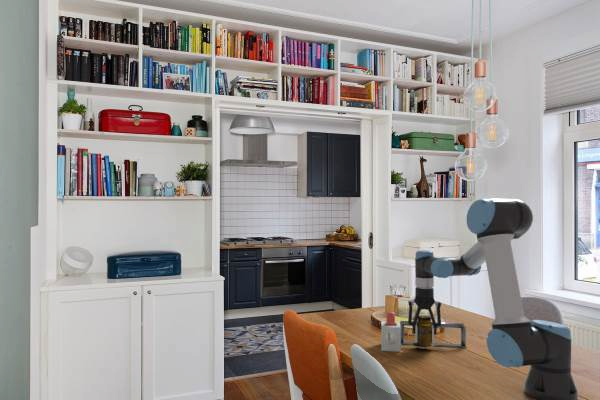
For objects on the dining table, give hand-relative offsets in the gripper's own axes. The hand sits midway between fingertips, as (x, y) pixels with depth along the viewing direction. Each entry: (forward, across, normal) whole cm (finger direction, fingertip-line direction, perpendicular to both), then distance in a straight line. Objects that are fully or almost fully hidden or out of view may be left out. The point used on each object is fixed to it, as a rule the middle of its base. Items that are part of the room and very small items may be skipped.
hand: (424, 341), depth 201 cm
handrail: (+3, -4, -7) cm, 9 cm away
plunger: (-3, +14, 0) cm, 14 cm away
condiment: (+2, +1, 0) cm, 2 cm away
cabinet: (+3, +14, 0) cm, 14 cm away
